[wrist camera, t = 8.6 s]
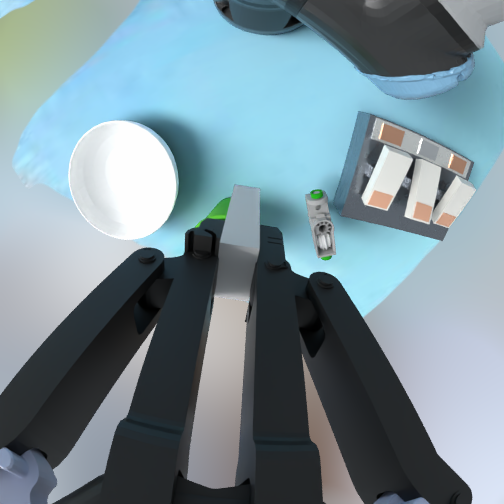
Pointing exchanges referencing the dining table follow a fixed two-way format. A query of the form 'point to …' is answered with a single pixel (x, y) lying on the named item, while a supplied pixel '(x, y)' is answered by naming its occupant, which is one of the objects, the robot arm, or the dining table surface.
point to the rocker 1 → (386, 178)
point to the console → (418, 147)
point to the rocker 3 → (453, 202)
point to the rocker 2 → (423, 191)
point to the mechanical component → (321, 224)
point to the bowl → (123, 179)
